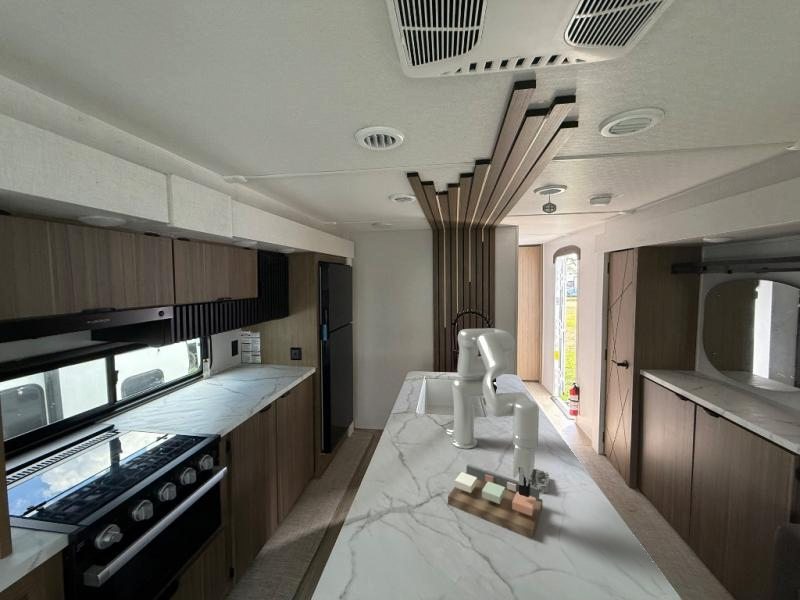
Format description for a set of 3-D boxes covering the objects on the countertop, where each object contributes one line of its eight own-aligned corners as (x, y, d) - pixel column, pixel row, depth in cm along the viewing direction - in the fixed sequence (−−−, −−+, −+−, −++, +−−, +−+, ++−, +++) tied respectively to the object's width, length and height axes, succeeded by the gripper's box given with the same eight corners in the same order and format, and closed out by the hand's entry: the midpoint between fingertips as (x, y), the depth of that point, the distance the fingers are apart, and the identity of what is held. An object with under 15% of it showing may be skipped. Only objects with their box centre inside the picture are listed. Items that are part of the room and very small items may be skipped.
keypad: (447, 504, 114) (447, 485, 113) (465, 480, 127) (465, 463, 126) (532, 539, 98) (532, 517, 98) (542, 508, 111) (542, 488, 111)
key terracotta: (512, 508, 105) (512, 501, 104) (516, 498, 110) (516, 491, 109) (531, 516, 101) (531, 509, 101) (535, 505, 106) (535, 498, 106)
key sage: (481, 497, 110) (482, 490, 110) (487, 487, 115) (487, 481, 115) (499, 504, 107) (499, 497, 107) (504, 493, 112) (505, 487, 112)
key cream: (454, 486, 116) (454, 480, 116) (461, 478, 121) (461, 472, 121) (470, 493, 112) (470, 486, 112) (476, 483, 117) (477, 477, 117)
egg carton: (547, 496, 118) (547, 485, 118) (525, 489, 122) (525, 479, 121) (550, 480, 127) (550, 470, 127) (529, 474, 131) (529, 464, 130)
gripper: (519, 427, 112) (518, 478, 113) (507, 446, 100) (506, 503, 101) (542, 433, 108) (541, 486, 109) (532, 453, 96) (531, 513, 97)
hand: (524, 494), depth 105 cm, fingers closed
